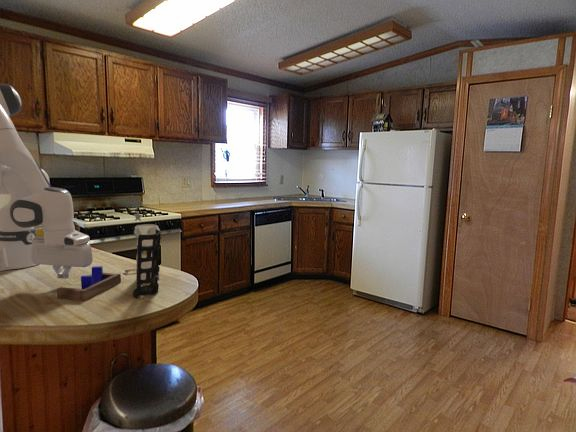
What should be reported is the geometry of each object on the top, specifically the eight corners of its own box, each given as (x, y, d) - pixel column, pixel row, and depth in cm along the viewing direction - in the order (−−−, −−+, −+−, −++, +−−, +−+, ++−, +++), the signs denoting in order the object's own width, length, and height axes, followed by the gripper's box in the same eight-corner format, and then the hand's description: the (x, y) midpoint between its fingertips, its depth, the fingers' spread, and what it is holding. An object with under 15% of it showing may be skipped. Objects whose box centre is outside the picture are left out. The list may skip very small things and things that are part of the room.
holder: (139, 285, 129) (142, 227, 126) (162, 287, 129) (166, 229, 126) (128, 297, 118) (132, 234, 115) (153, 299, 118) (157, 237, 115)
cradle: (57, 298, 117) (56, 288, 116) (96, 280, 134) (95, 272, 134) (84, 300, 115) (84, 291, 115) (120, 282, 133) (120, 273, 132)
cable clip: (89, 283, 132) (88, 266, 131) (103, 283, 132) (102, 266, 131) (76, 295, 120) (75, 277, 119) (92, 295, 121) (91, 276, 120)
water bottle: (159, 282, 133) (156, 211, 129) (133, 283, 132) (130, 211, 128) (162, 275, 141) (160, 208, 137) (138, 276, 140) (135, 208, 136)
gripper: (24, 237, 123) (27, 278, 125) (80, 240, 120) (83, 283, 122) (39, 233, 129) (42, 273, 132) (94, 236, 126) (96, 277, 128)
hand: (63, 278), depth 127 cm, fingers closed
